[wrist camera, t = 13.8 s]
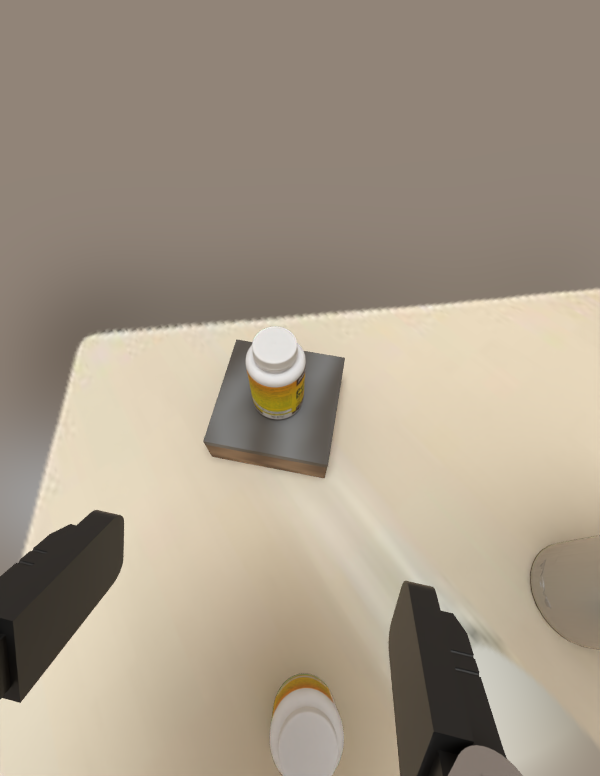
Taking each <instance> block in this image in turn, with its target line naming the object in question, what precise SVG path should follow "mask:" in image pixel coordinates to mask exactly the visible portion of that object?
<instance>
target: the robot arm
mask: <svg viewBox="0 0 600 776" xmlns="http://www.w3.org/2000/svg"><path fill="white" fill-rule="evenodd" d="M123 550H124V518H123V517H122V516H121V515H117V514H112V513H108V512H104V511H99V510H94V511H92V512H91V513H90V514H89V515H88V516H87V517H85V518H84V519H83V520H82V521H81V522H80V523H79V524H78V525H77V526H76V525H72V524H70V525H68V526H66V527H64V528H62V529H60V530H58V531H55V532H53V533H51V534H50V535H48V536H47V537H46V538H45V539H44V540H43V541H41V542H40V543H39V544H38V545H37V546H35V547H34V548H33V551H30V552H28V553H27V554H26V555H25V556H24V557H23V558H21V559H20V561H19V563H16V564H14V565H13V566H12V567H11V568H10V569H9V570H7V571H6V572H5V573H4V574H3V575H2V576H0V699H1V698H5V699H9V700H12V701H16V702H20V703H21V701H22V700H23V699H24V698H25V696H26V695H27V694H28V692H29V691H30V690H31V689H32V687H33V686H34V685H35V683H36V682H37V681H38V680H39V678H40V677H41V676H42V674H43V673H44V672H45V671H46V669H47V668H48V667H49V665H50V664H51V663H52V662H53V660H54V659H55V658H56V656H57V655H58V654H59V653H60V651H61V650H62V649H63V647H64V646H65V645H66V644H67V642H68V641H69V640H70V638H71V637H72V636H73V635H74V633H75V632H76V631H77V630H78V628H79V627H80V626H81V624H82V623H83V622H84V621H85V619H86V618H87V617H88V615H89V614H90V613H91V612H92V610H93V609H94V608H95V606H96V605H97V604H98V603H99V601H100V600H101V599H102V597H103V596H104V595H105V594H106V592H107V591H108V590H109V588H110V587H111V586H112V585H113V583H114V582H115V580H116V579H117V577H118V575H119V573H120V570H121V567H122V564H123ZM531 587H532V592H533V596H534V599H535V601H536V604H537V606H538V608H539V610H540V612H541V613H542V615H543V617H544V618H545V619H546V621H547V622H548V623H549V624H550V626H551V627H552V628H553V629H555V630H556V631H557V632H558V633H559V634H560V635H561V636H563V637H564V638H566V639H567V640H569V641H570V642H573V643H575V644H577V645H580V646H583V647H588V648H593V649H598V650H600V535H599V536H593V537H588V538H582V539H577V540H572V541H566V542H561V543H557V544H553V545H550V546H548V547H546V548H545V549H543V550H542V551H541V552H540V553H539V554H538V555H537V557H536V559H535V561H534V563H533V566H532V570H531ZM473 655H474V654H473V651H472V648H471V645H470V642H469V639H468V635H467V633H466V631H465V630H464V629H463V627H462V626H461V624H460V623H459V621H458V620H457V619H456V617H455V616H454V614H453V613H448V612H444V611H441V610H440V607H439V603H438V599H437V595H436V591H435V589H434V588H433V587H431V586H426V585H422V584H417V583H413V582H409V581H404V583H403V585H402V587H401V591H400V594H399V598H398V601H397V604H396V608H395V611H394V615H393V618H392V621H391V626H390V632H389V658H390V669H391V679H392V690H393V701H394V712H395V723H396V734H397V745H398V756H399V766H400V776H522V774H521V773H520V772H519V771H518V770H517V768H516V767H515V766H514V765H513V764H512V763H510V761H508V760H507V758H506V755H505V753H504V750H503V747H502V744H501V741H500V737H499V734H498V731H497V728H496V725H495V721H494V718H493V715H492V712H491V709H490V706H489V702H488V699H487V696H486V693H485V690H484V686H483V683H482V680H481V677H479V671H478V667H477V664H476V661H475V659H474V658H473Z"/></svg>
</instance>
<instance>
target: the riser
mask: <svg viewBox="0 0 600 776" xmlns="http://www.w3.org/2000/svg"><path fill="white" fill-rule="evenodd" d="M251 345H252V342H248V341H242V340H236V343H235V346H234V349H233V352H232V355H231V358H230V361H229V364H228V367H227V370H226V373H225V377H224V380H223V383H222V386H221V389H220V392H219V395H218V398H217V401H216V404H215V407H214V410H213V413H212V416H211V419H210V422H209V426H208V429H207V432H206V435H205V438H204V441H203V442H204V443H205V445H206V447H207V448H208V450H209V452H210V454H211V455H212V457H217V458H222V459H228V460H233V461H238V462H243V463H248V464H254V465H259V466H264V467H269V468H274V469H280V470H285V471H290V472H295V473H300V474H306V475H311V476H316V477H321V478H324V477H325V473H326V470H327V466H328V461H329V454H330V448H331V442H332V436H333V429H334V423H335V417H336V411H337V404H338V398H339V392H340V386H341V379H342V373H343V367H344V361H345V358H342V357H336V356H331V355H325V354H319V353H313V352H307V351H304V353H305V359H306V366H305V383H304V398H303V402H302V405H301V407H300V408H299V410H298V411H297V412H296V413H295V414H293V415H292V416H290V417H288V418H285V419H271V418H268V417H265V416H264V415H262V414H261V413H260V412H259V411H258V410H257V409H256V407H255V405H254V403H253V399H252V394H251V389H250V384H249V378H248V374H247V369H246V355H247V352H248V350H249V348H250V347H251Z"/></svg>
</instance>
